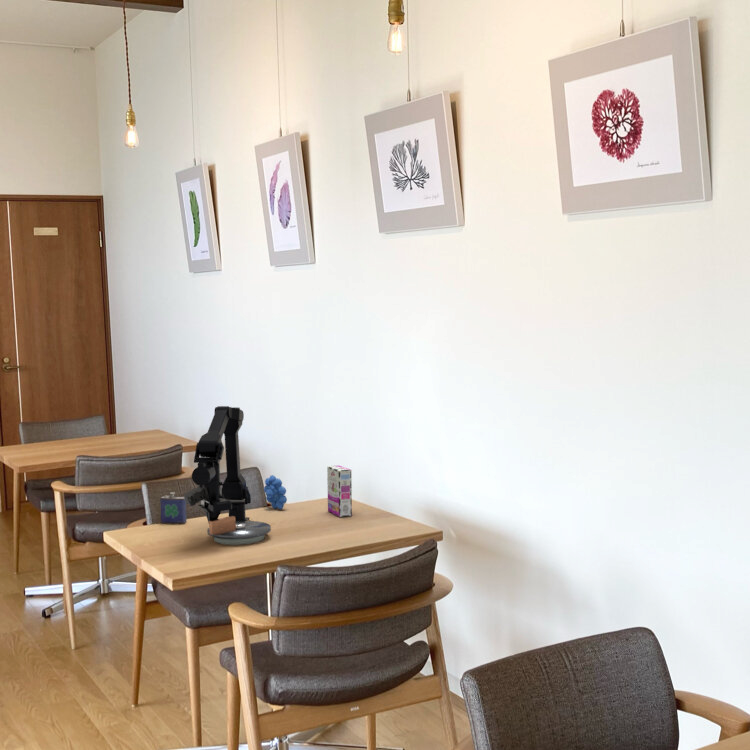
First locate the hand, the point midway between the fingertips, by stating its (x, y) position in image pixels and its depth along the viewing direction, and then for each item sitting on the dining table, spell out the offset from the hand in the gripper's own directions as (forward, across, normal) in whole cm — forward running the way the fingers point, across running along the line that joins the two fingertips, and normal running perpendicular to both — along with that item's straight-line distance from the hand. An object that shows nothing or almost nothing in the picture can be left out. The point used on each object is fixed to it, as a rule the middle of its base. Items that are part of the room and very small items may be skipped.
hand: (211, 527), depth 307 cm
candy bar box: (+5, -10, +52) cm, 54 cm away
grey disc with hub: (+2, +1, +8) cm, 9 cm away
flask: (+6, -32, -1) cm, 32 cm away
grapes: (+6, -31, +37) cm, 49 cm away
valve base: (+4, +1, +9) cm, 10 cm away
